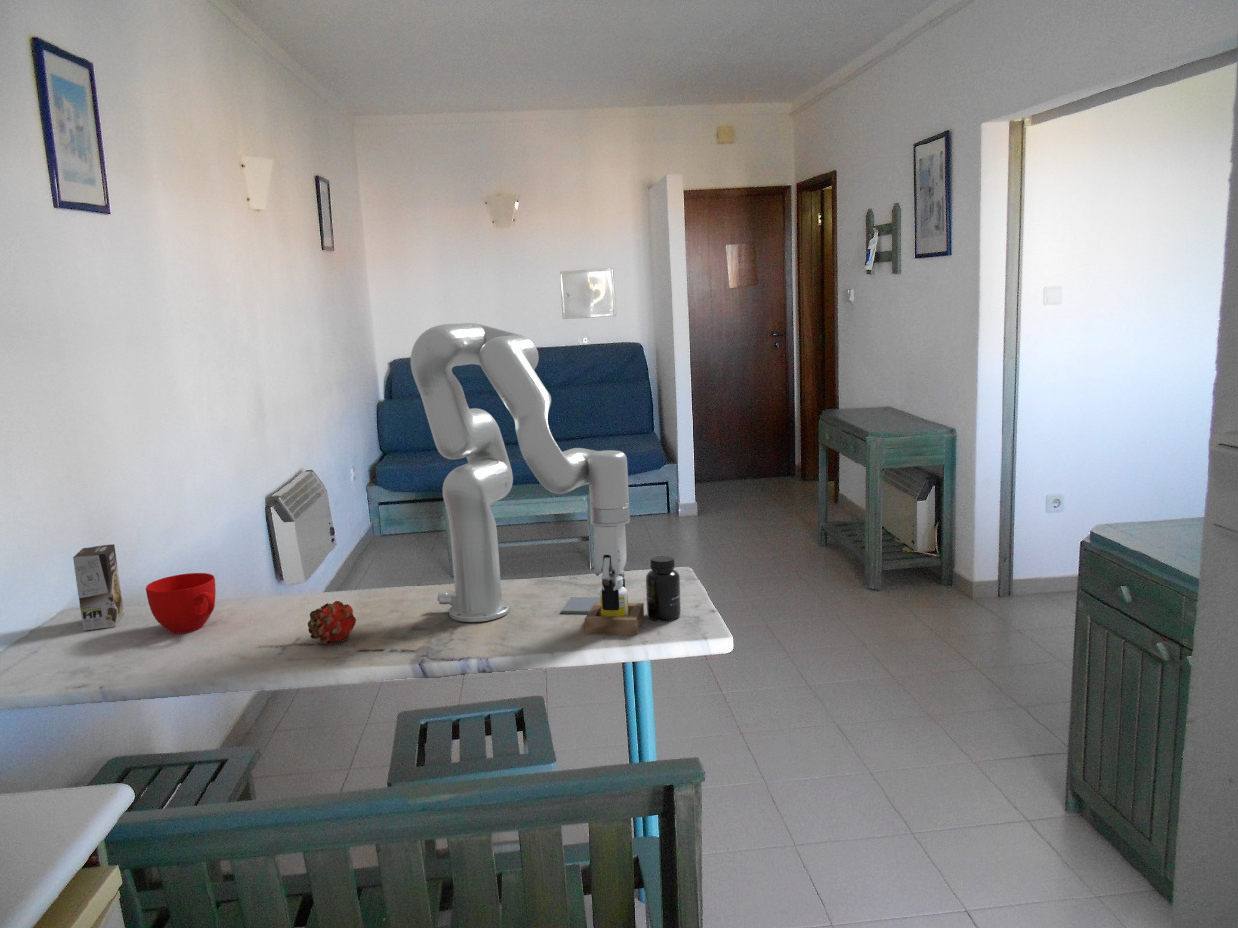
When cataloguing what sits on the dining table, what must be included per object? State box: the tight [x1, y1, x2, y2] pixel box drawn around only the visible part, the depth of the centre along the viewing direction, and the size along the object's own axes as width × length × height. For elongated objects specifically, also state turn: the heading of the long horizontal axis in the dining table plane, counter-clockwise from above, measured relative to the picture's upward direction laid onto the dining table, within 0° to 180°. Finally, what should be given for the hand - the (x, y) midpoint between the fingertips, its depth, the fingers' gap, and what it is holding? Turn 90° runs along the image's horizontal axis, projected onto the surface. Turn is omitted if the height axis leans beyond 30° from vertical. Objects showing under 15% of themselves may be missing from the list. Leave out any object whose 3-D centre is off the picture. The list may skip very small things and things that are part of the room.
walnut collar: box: [584, 602, 645, 636], centre depth 179 cm, size 10×10×3 cm
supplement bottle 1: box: [599, 575, 629, 617], centre depth 179 cm, size 5×5×10 cm
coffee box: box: [72, 543, 125, 632], centre depth 194 cm, size 9×6×16 cm
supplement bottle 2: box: [645, 555, 682, 622], centre depth 183 cm, size 7×7×12 cm
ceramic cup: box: [145, 572, 217, 634], centre depth 188 cm, size 13×17×10 cm
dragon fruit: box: [307, 600, 357, 646], centre depth 178 cm, size 8×8×12 cm
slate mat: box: [560, 596, 600, 615], centre depth 192 cm, size 9×9×1 cm
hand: (614, 602), depth 179 cm, fingers open, 6 cm apart
